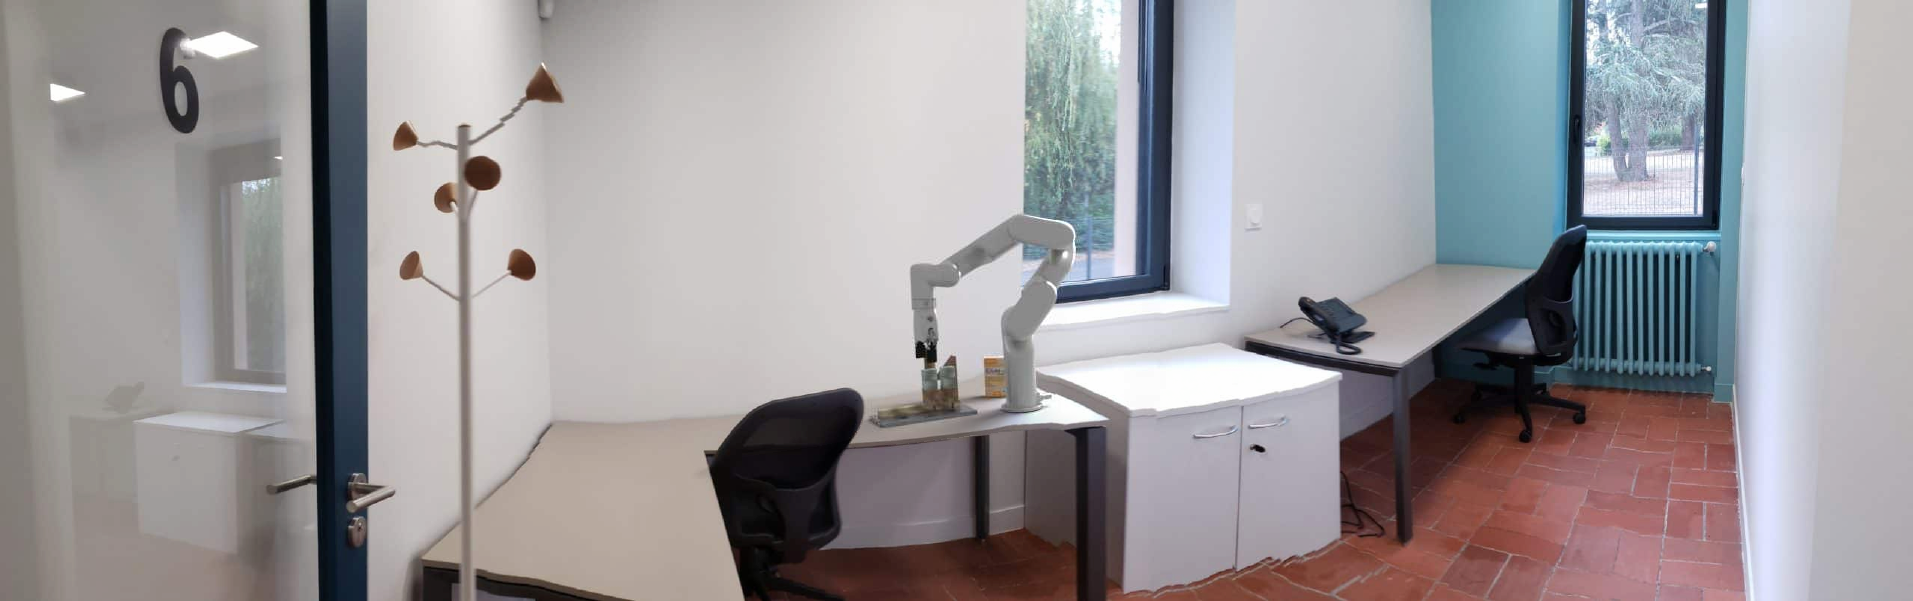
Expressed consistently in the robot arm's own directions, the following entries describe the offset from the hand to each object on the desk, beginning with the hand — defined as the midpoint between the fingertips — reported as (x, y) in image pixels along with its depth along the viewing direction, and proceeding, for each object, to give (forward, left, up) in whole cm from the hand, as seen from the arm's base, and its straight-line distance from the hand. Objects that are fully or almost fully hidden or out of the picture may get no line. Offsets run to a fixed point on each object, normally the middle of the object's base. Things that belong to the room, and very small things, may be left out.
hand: (926, 360), depth 319 cm
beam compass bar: (+2, 0, -16) cm, 16 cm away
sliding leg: (-1, 0, -15) cm, 15 cm away
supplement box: (-29, -12, -17) cm, 35 cm away
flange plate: (+2, +1, -17) cm, 17 cm away
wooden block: (-11, -17, -17) cm, 27 cm away
